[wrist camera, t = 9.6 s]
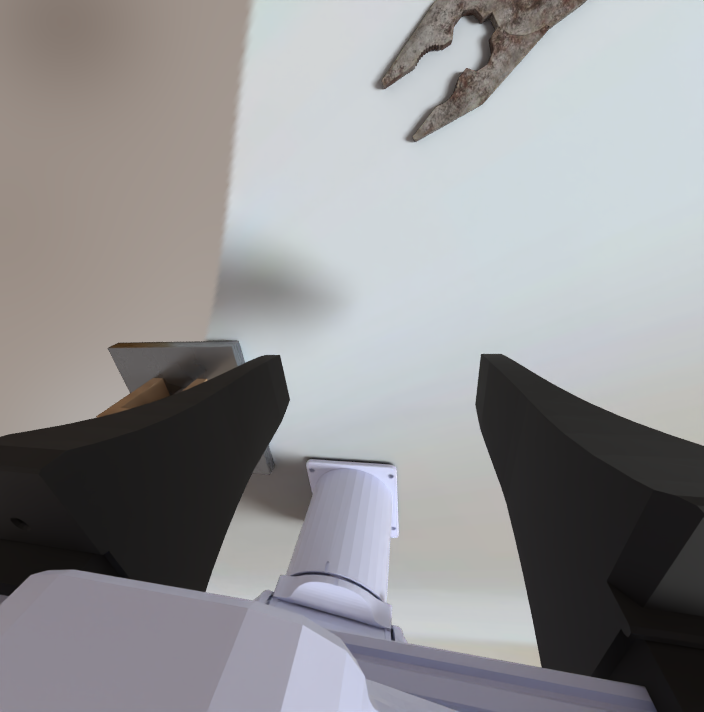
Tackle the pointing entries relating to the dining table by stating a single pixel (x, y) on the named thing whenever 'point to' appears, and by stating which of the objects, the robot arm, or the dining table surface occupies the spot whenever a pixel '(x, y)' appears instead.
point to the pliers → (507, 44)
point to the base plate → (180, 368)
